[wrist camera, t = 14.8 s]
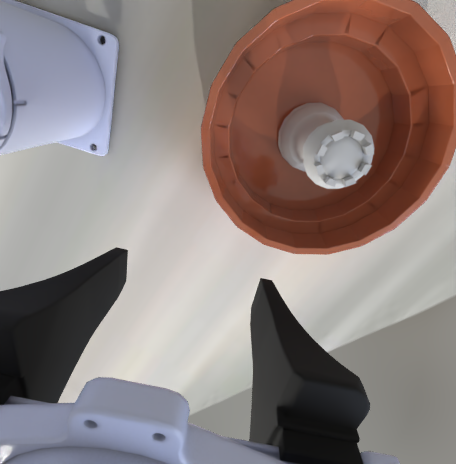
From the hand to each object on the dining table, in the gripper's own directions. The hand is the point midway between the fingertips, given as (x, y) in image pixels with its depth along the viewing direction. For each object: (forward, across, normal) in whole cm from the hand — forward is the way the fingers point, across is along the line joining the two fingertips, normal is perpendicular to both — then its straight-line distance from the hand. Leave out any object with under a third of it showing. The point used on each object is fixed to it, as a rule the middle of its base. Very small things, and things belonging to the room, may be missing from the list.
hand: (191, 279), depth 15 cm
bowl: (+9, -6, -8) cm, 13 cm away
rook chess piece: (+9, -6, -8) cm, 13 cm away
